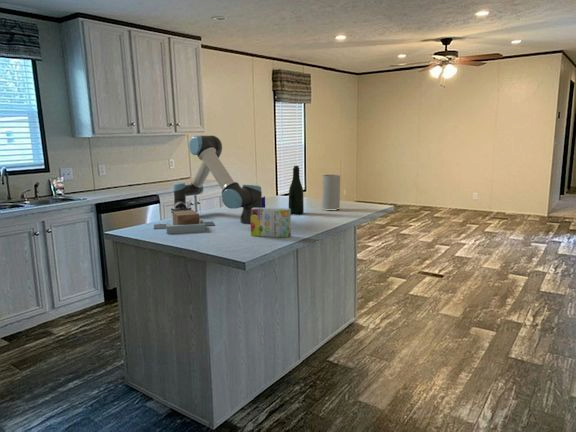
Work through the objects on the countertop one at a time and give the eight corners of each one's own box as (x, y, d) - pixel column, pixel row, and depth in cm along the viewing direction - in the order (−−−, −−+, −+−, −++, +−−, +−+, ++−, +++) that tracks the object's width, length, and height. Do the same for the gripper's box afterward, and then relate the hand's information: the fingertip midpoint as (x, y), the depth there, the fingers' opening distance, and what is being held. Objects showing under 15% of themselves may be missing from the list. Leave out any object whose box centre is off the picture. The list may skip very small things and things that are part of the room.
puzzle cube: (261, 212, 310) (261, 198, 308) (248, 211, 312) (247, 197, 310) (265, 209, 319) (265, 196, 318) (252, 209, 321) (251, 195, 320)
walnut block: (173, 226, 262) (172, 211, 261) (193, 224, 267) (192, 209, 266) (178, 231, 248) (178, 215, 247) (199, 229, 253) (199, 214, 252)
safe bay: (166, 228, 254) (166, 222, 253) (203, 226, 260) (202, 220, 259) (166, 233, 241) (166, 226, 241) (205, 231, 247) (205, 224, 246)
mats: (154, 225, 264) (154, 224, 264) (212, 222, 274) (212, 221, 274) (153, 229, 253) (153, 228, 253) (214, 225, 263) (214, 224, 263)
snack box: (291, 235, 237) (291, 208, 234) (288, 238, 231) (288, 209, 229) (253, 233, 241) (253, 206, 239) (250, 236, 236) (249, 208, 233)
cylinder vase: (318, 209, 320) (319, 175, 316) (330, 207, 328) (330, 174, 324) (331, 211, 311) (332, 176, 307) (343, 209, 319) (343, 175, 315)
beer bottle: (285, 213, 305) (285, 165, 299) (297, 211, 311) (297, 165, 305) (294, 215, 296) (294, 166, 291) (306, 213, 303) (307, 165, 297)
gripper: (191, 213, 289) (193, 220, 266) (170, 214, 285) (171, 221, 263) (190, 202, 287) (193, 207, 265) (170, 203, 284) (171, 208, 262)
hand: (182, 214), depth 264 cm, fingers closed
